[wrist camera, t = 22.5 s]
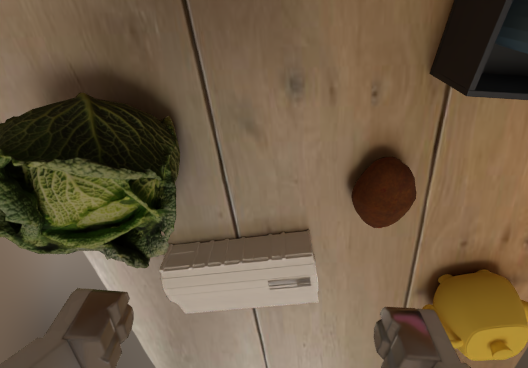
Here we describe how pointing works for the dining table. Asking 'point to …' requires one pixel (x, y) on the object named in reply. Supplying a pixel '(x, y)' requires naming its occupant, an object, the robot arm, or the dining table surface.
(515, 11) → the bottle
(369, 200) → the potato
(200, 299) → the white box
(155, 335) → the dining table surface
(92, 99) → the vegetable
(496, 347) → the teapot
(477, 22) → the box
